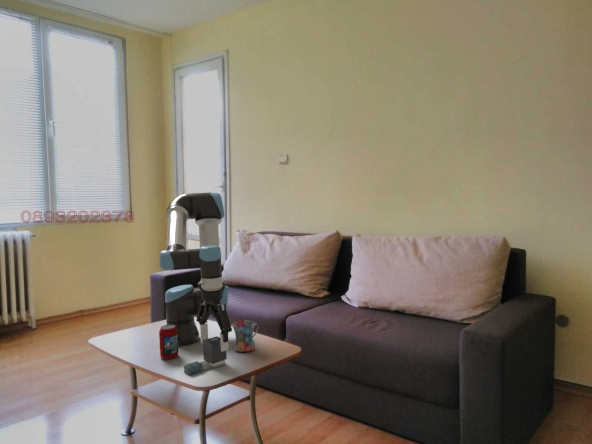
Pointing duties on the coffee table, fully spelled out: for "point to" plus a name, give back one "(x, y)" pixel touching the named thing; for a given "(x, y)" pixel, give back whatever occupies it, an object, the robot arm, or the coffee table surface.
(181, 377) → the coffee table surface
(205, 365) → the faucet
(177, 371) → the coffee table surface
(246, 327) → the mug
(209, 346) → the cube with silver knob
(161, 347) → the beverage can
